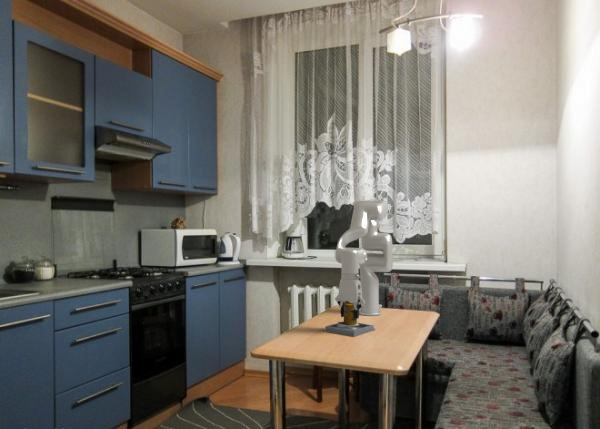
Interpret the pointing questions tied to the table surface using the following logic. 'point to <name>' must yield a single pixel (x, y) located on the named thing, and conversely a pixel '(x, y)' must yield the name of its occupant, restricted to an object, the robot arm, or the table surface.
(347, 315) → the condiment
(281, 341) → the table surface
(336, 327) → the dock
